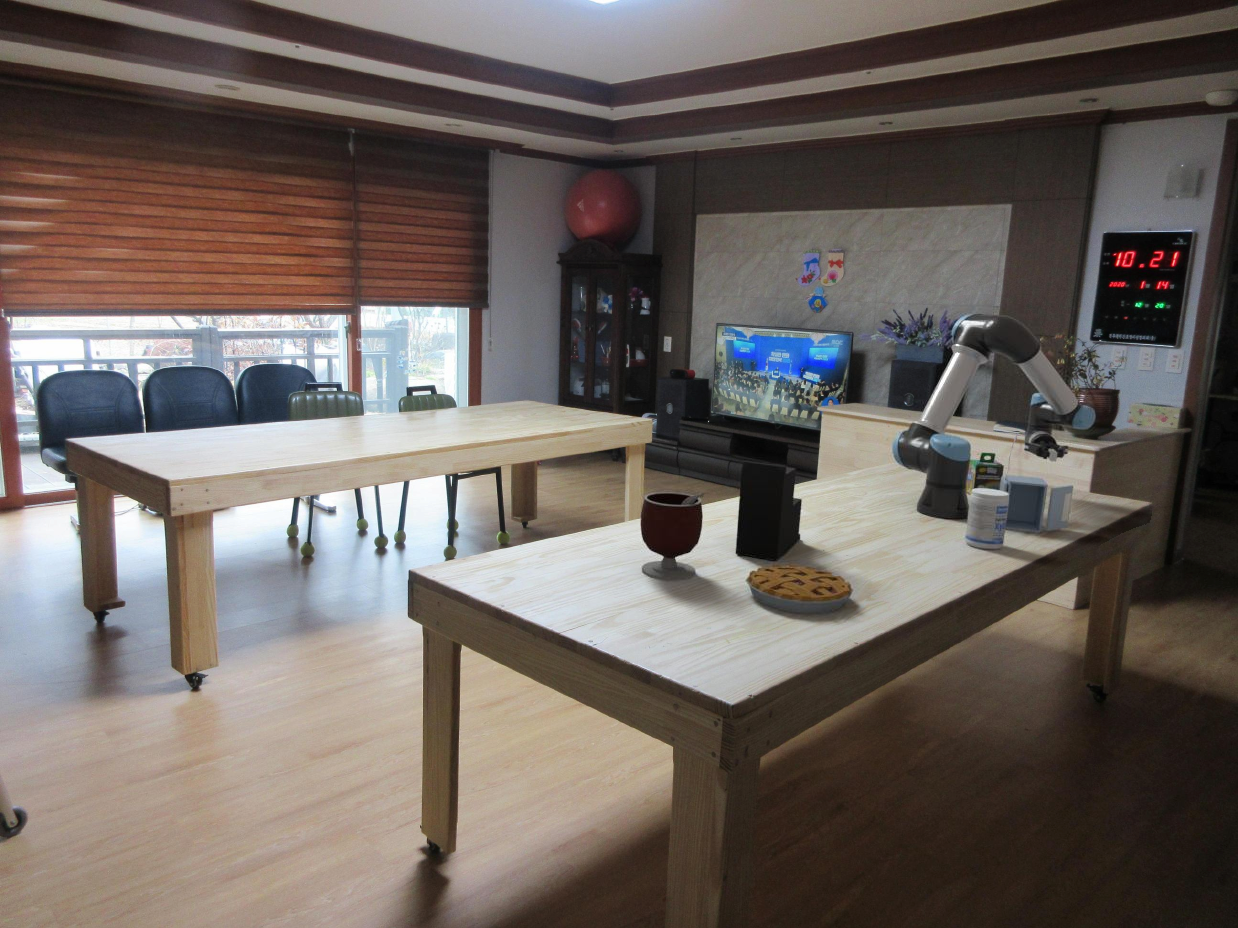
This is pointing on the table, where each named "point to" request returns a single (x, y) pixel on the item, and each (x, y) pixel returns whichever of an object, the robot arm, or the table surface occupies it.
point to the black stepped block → (767, 511)
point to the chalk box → (984, 473)
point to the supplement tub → (987, 518)
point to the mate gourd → (671, 532)
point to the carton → (1024, 502)
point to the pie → (799, 589)
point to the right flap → (1059, 507)
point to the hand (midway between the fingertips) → (1054, 456)
